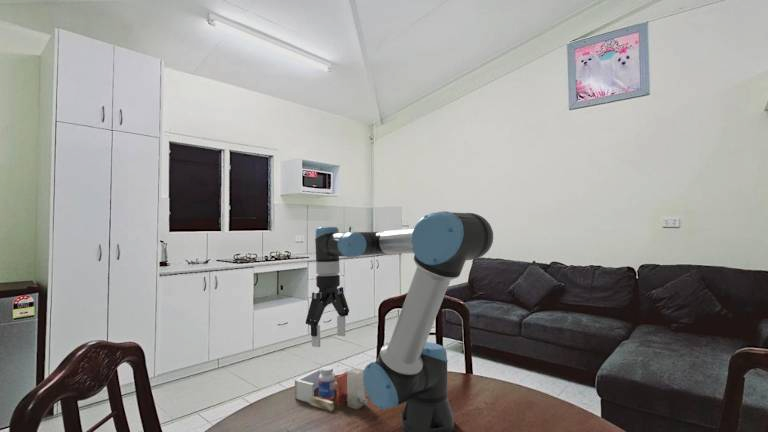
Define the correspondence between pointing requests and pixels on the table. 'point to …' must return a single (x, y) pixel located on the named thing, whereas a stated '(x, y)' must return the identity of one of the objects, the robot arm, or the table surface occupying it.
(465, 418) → the table surface
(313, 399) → the lane rails
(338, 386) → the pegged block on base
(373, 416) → the table surface
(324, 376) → the pill bottle
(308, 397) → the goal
